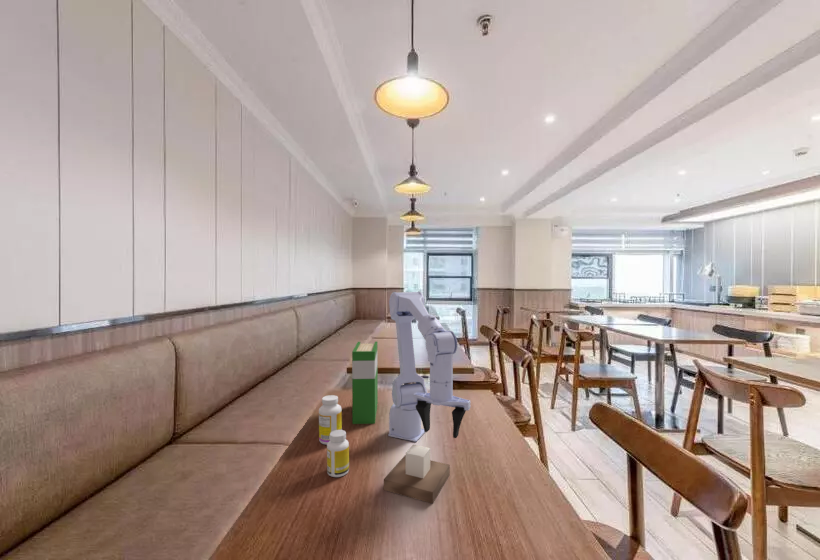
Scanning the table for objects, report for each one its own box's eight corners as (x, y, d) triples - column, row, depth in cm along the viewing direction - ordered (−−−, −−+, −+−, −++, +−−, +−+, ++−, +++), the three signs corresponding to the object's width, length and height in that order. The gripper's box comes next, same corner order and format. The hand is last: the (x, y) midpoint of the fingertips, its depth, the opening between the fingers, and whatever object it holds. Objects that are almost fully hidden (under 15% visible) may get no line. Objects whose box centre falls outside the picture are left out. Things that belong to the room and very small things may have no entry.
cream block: (405, 474, 83) (405, 452, 83) (413, 464, 87) (413, 444, 87) (423, 478, 81) (423, 456, 81) (430, 468, 85) (430, 448, 85)
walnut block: (383, 489, 81) (383, 479, 81) (405, 464, 92) (405, 454, 92) (432, 503, 76) (432, 492, 76) (449, 474, 87) (449, 464, 87)
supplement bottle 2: (352, 468, 90) (352, 430, 90) (342, 479, 85) (341, 439, 85) (334, 464, 92) (334, 427, 91) (322, 475, 86) (322, 436, 86)
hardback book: (358, 404, 134) (357, 341, 134) (377, 404, 134) (377, 341, 134) (352, 424, 116) (352, 351, 116) (374, 423, 117) (374, 351, 116)
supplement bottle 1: (338, 433, 109) (338, 392, 109) (344, 442, 103) (344, 399, 103) (316, 438, 106) (316, 395, 106) (321, 447, 100) (321, 403, 100)
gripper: (408, 380, 88) (408, 434, 88) (464, 388, 82) (464, 446, 82) (419, 373, 94) (419, 423, 94) (472, 380, 88) (472, 433, 88)
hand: (441, 433), depth 89 cm, fingers open, 7 cm apart
